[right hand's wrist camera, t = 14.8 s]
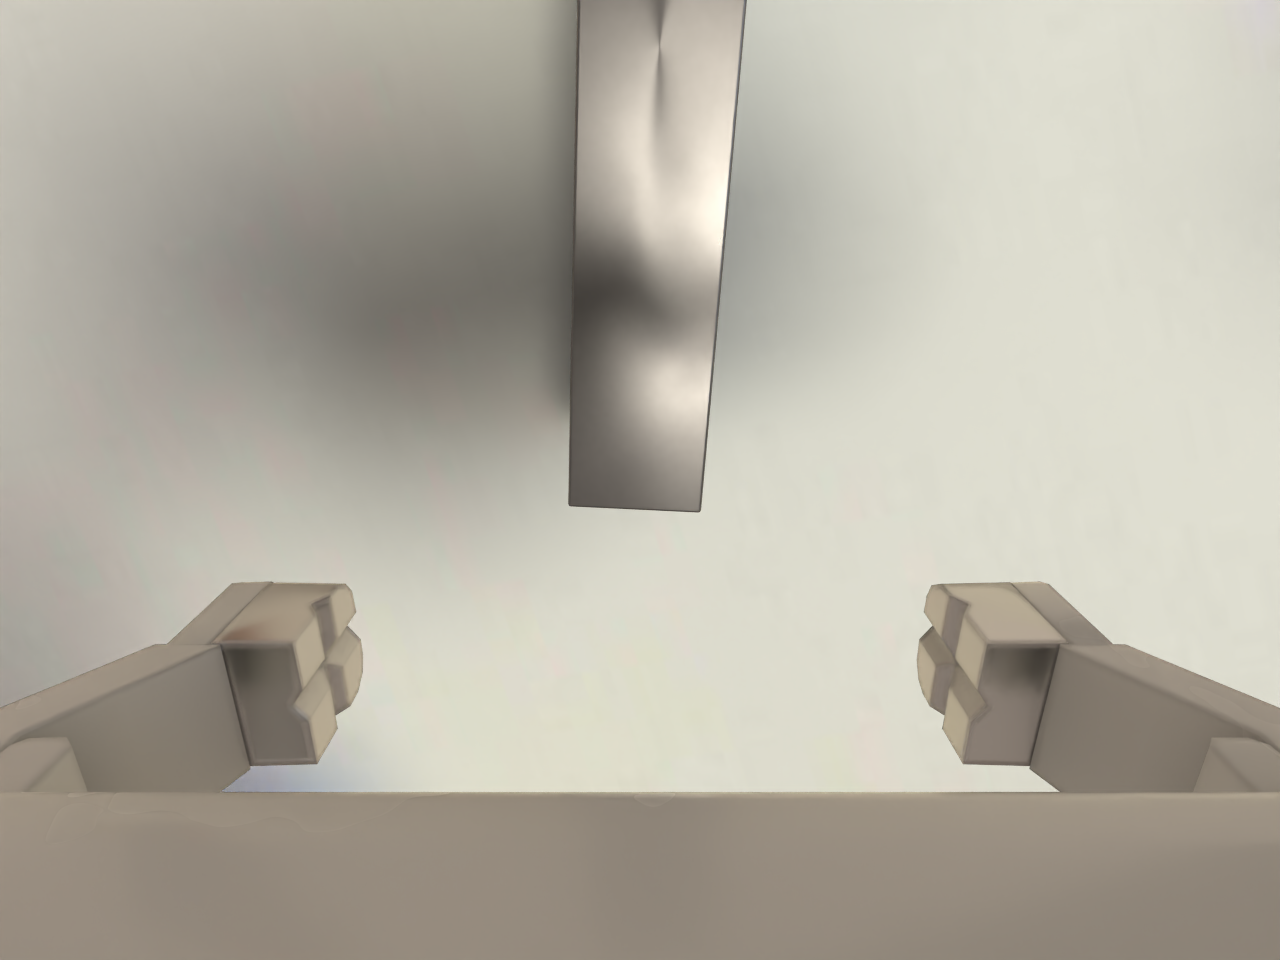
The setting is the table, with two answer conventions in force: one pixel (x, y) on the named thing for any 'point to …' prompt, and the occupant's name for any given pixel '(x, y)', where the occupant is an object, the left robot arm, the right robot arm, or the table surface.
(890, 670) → the table surface
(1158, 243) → the table surface
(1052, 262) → the table surface
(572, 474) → the bar
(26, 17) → the table surface
